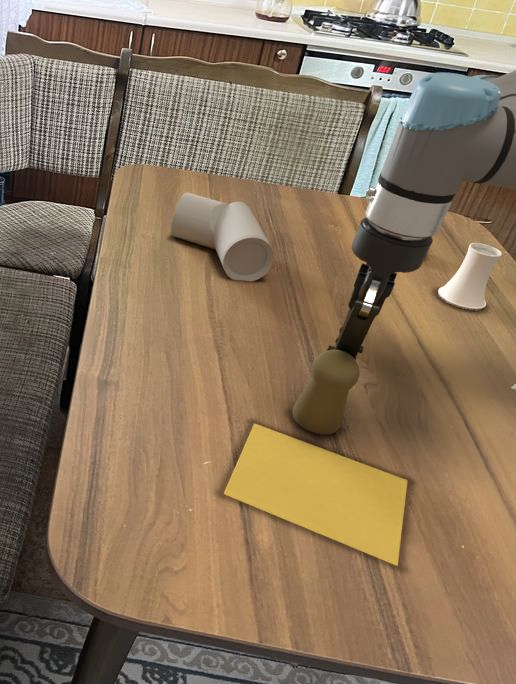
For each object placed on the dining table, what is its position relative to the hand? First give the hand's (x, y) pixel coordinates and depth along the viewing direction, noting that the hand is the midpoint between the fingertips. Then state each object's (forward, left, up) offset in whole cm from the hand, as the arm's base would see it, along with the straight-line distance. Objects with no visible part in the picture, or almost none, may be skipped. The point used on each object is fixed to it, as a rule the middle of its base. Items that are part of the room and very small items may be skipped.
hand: (326, 393), depth 88 cm
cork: (0, +3, -2) cm, 4 cm away
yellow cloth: (-2, +16, -2) cm, 16 cm away
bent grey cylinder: (+24, -35, -3) cm, 43 cm away
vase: (-16, -45, -3) cm, 48 cm away
